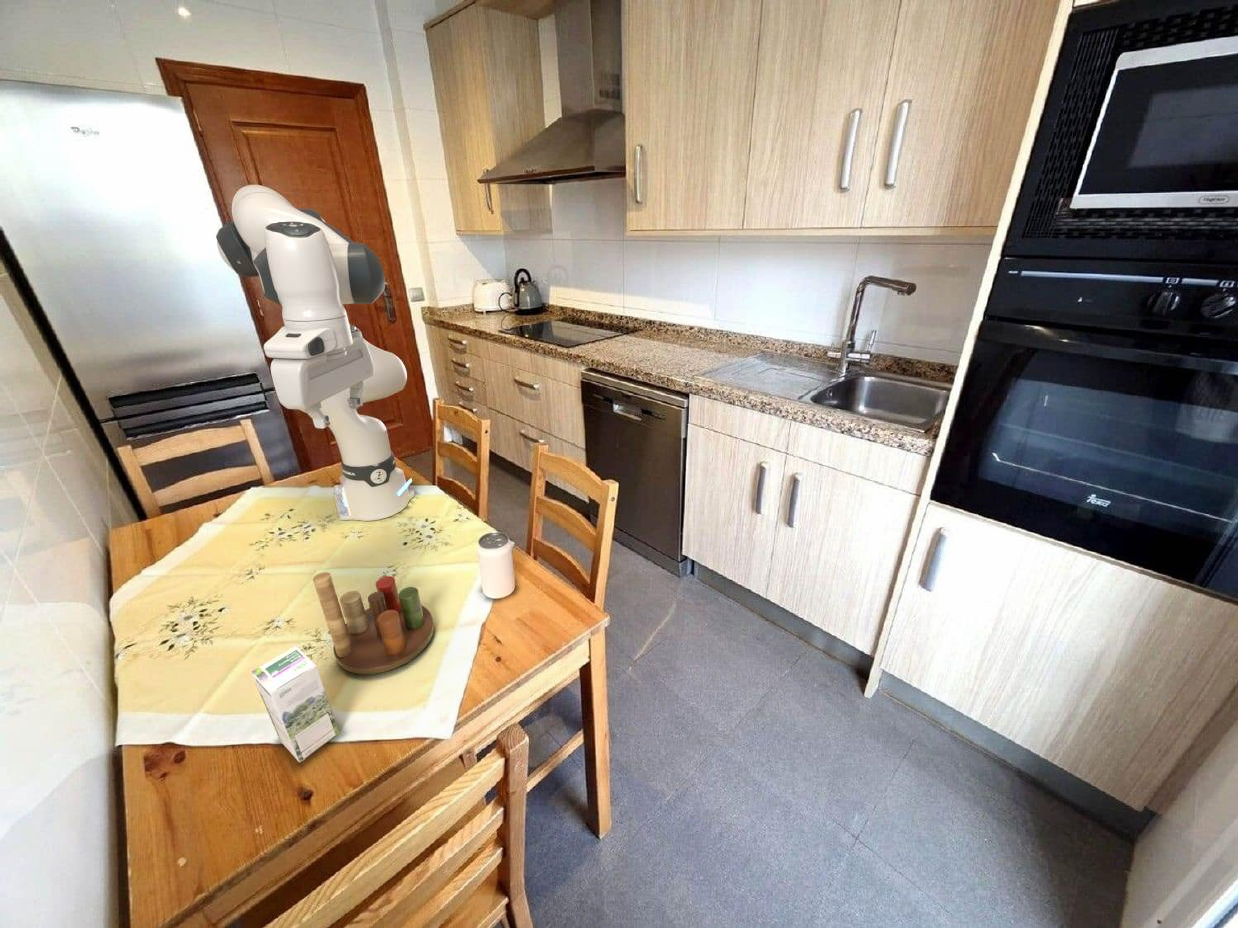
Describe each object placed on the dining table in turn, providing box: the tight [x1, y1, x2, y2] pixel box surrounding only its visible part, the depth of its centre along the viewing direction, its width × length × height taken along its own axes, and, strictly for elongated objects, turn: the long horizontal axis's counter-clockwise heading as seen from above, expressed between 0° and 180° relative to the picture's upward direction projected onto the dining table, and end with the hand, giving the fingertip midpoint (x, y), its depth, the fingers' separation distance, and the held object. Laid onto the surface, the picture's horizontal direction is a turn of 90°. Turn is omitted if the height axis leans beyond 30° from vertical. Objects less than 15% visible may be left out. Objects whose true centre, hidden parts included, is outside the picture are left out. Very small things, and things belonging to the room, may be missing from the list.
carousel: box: [312, 571, 435, 675], centre depth 85 cm, size 16×16×17 cm
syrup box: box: [250, 645, 340, 763], centre depth 69 cm, size 6×6×14 cm
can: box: [476, 531, 516, 600], centre depth 99 cm, size 6×6×12 cm
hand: (340, 416), depth 86 cm, fingers open, 8 cm apart
